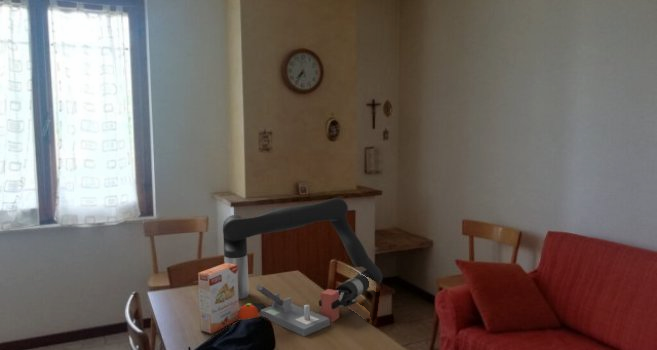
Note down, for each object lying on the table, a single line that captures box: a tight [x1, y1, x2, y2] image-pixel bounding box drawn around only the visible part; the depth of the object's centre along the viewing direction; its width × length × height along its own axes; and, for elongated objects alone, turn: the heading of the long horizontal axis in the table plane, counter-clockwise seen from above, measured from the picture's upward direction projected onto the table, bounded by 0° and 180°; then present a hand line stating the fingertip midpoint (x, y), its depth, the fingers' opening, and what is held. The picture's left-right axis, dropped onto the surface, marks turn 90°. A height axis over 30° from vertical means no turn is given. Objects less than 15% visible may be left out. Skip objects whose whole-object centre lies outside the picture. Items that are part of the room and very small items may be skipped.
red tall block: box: [320, 288, 340, 323], centre depth 177 cm, size 5×5×10 cm
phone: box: [250, 302, 266, 313], centre depth 185 cm, size 7×1×15 cm
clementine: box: [239, 302, 259, 321], centre depth 175 cm, size 8×7×7 cm
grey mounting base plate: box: [259, 292, 331, 337], centre depth 176 cm, size 24×12×8 cm, turn 45°
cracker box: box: [197, 262, 240, 335], centre depth 173 cm, size 14×6×21 cm, turn 148°
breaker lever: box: [255, 284, 283, 307], centre depth 177 cm, size 4×2×14 cm
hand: (326, 305), depth 175 cm, fingers closed on red tall block, 4 cm apart
